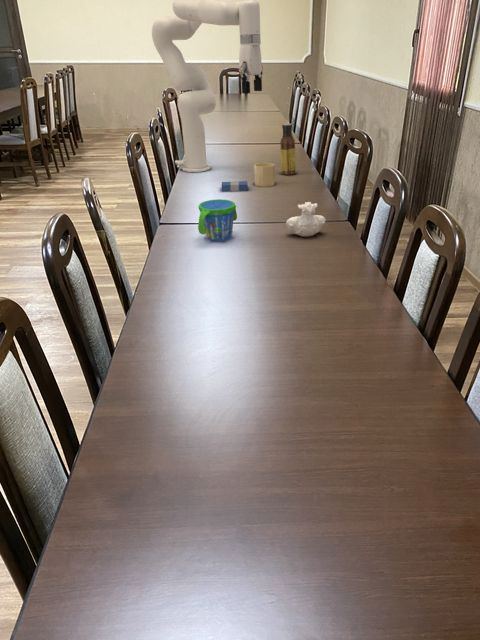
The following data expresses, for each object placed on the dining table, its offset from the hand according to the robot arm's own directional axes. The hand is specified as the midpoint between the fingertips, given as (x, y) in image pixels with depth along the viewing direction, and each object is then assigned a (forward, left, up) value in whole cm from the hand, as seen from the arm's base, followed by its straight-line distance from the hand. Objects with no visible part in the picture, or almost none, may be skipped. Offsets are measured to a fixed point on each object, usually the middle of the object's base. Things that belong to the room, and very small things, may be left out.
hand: (252, 92), depth 205 cm
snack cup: (-13, -72, -33) cm, 80 cm away
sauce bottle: (+15, +9, -33) cm, 37 cm away
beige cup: (+4, -8, -33) cm, 34 cm away
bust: (+13, -72, -33) cm, 80 cm away
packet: (-8, -15, -33) cm, 37 cm away
